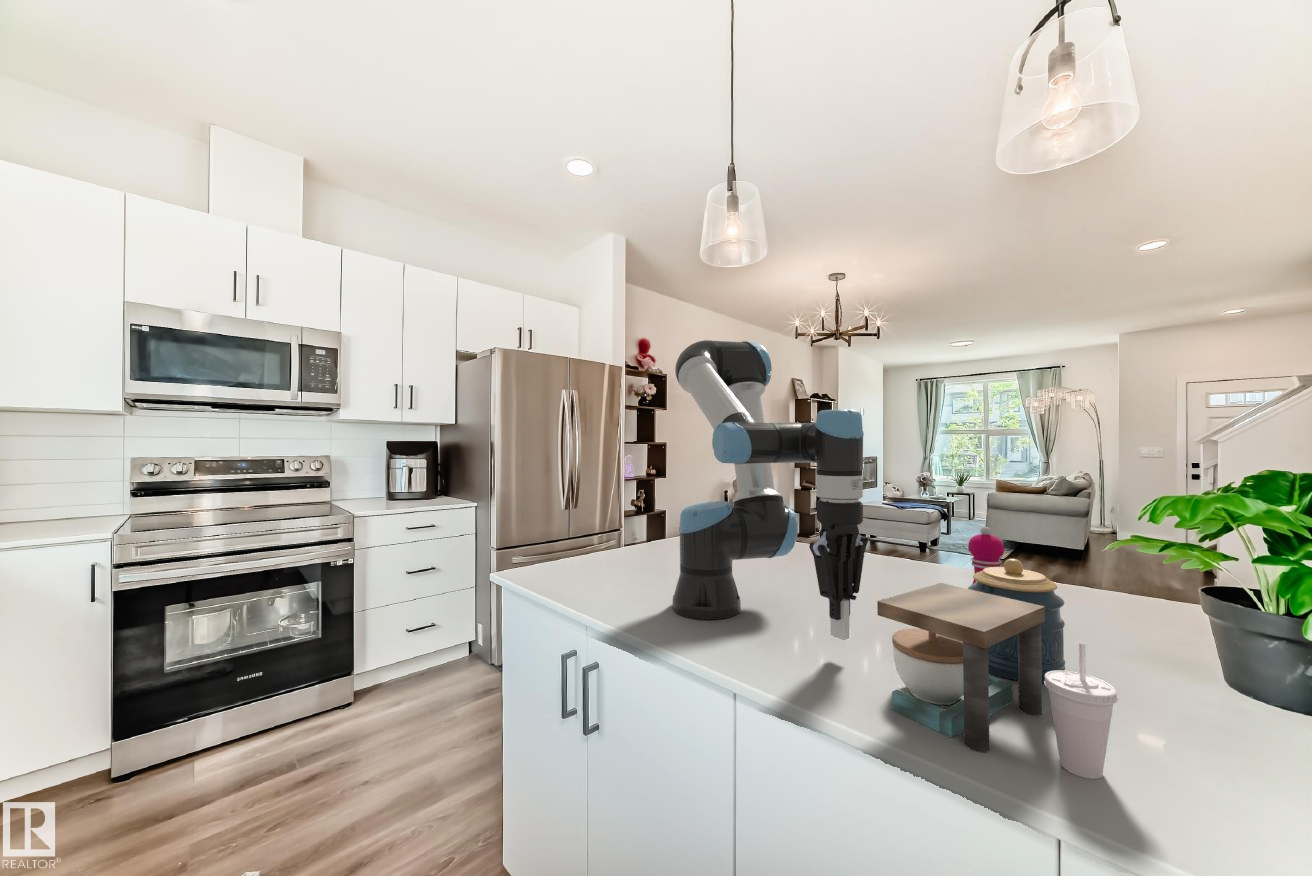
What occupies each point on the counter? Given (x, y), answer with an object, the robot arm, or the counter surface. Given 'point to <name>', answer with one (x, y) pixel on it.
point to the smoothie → (1081, 718)
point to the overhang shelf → (972, 655)
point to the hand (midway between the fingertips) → (839, 636)
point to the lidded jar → (929, 665)
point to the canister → (1031, 590)
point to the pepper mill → (985, 550)
